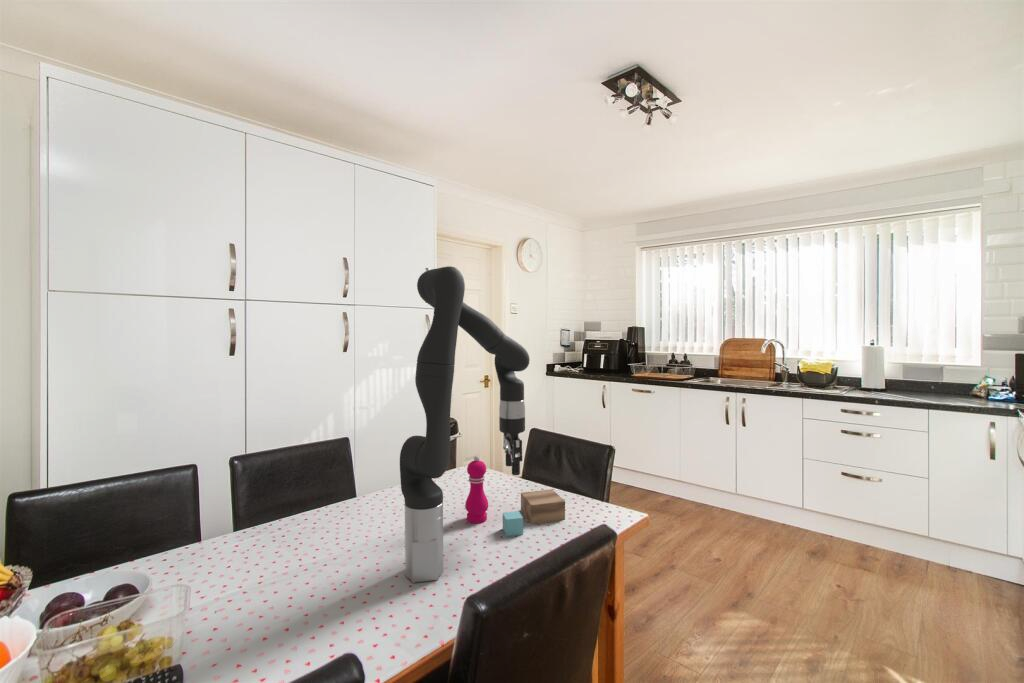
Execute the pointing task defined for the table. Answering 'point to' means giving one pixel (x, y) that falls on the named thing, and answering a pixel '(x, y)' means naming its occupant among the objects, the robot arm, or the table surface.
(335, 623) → the table surface
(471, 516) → the pepper mill
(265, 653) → the table surface
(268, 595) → the table surface
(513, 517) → the teal cube
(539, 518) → the walnut box
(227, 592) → the table surface
